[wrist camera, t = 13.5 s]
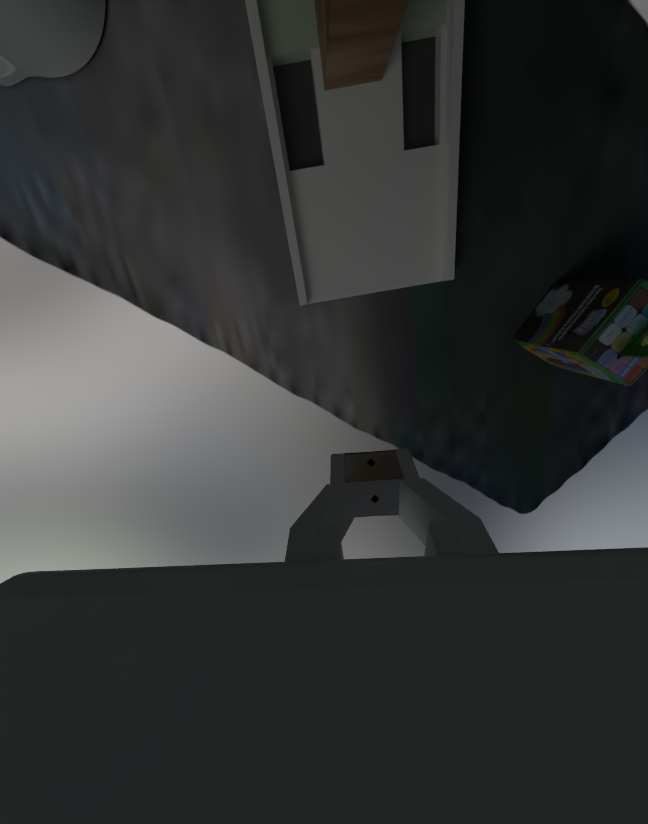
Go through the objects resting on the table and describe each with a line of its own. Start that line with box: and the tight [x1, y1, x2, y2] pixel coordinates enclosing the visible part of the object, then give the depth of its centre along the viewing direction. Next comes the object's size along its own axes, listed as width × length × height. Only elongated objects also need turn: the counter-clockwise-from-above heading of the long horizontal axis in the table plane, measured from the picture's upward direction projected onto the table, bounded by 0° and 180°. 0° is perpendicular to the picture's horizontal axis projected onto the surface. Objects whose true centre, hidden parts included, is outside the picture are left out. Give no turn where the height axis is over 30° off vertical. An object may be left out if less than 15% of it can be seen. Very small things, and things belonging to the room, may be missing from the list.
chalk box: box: [513, 278, 648, 386], centre depth 34 cm, size 9×9×15 cm
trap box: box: [245, 0, 465, 305], centre depth 28 cm, size 36×20×4 cm, turn 9°
